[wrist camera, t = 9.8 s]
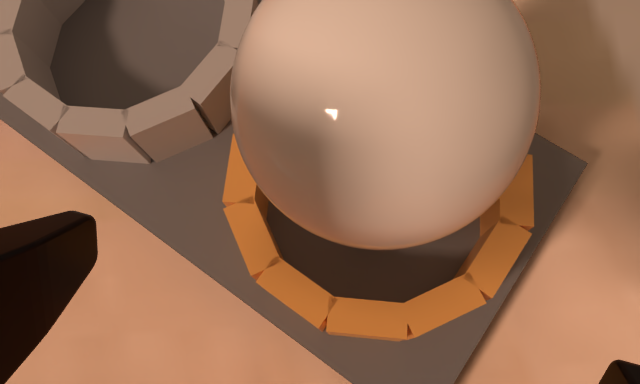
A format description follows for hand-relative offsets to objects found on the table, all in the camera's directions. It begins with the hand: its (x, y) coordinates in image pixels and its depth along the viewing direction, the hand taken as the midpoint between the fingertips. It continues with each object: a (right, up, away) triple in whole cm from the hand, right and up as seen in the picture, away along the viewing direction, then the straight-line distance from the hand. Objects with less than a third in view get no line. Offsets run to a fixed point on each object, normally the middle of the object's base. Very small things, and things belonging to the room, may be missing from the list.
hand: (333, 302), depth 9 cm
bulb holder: (-3, +4, +12) cm, 13 cm away
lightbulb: (+1, +1, +10) cm, 10 cm away
